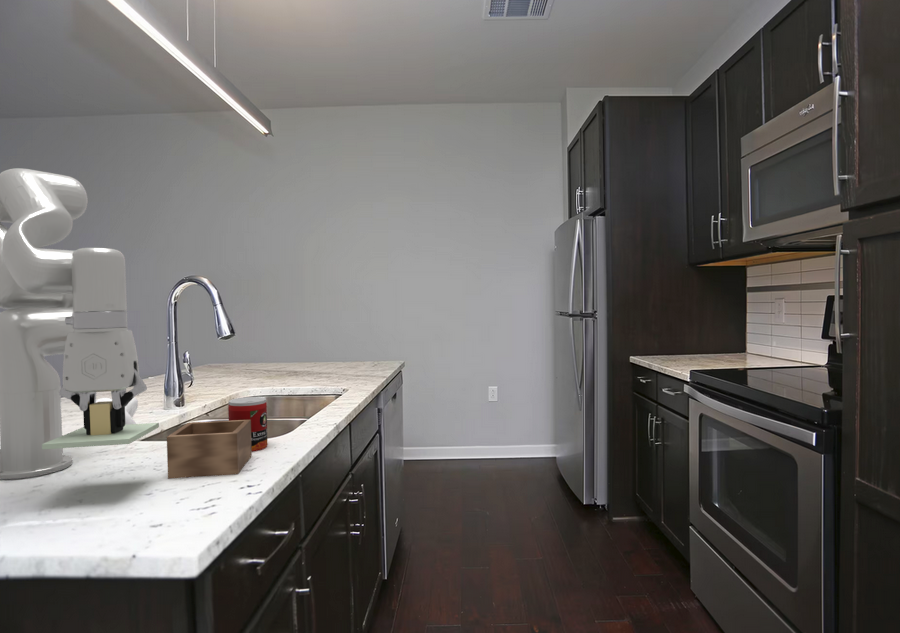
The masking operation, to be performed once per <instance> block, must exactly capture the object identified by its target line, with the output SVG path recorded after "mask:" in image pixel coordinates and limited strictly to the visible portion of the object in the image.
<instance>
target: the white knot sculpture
mask: <svg viewBox="0 0 900 633" xmlns="http://www.w3.org/2000/svg"><path fill="white" fill-rule="evenodd" d="M106 401H112V397H111V398H109V397H100V398H96V403H97V402H106ZM138 405H139V401H138V399H137V397H136V396H135V397H134V398H133V399H132V400H131V401H130V402H129V403H128V405H127V406H125V425H128V424H137V423H136V422H135V420H134V419H133V417H134V415H135V414H136V411H137V410H138V407H139V406H138Z"/></svg>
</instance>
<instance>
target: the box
mask: <svg viewBox="0 0 900 633" xmlns="http://www.w3.org/2000/svg"><path fill="white" fill-rule="evenodd" d="M166 454H167V455H166V456H167V458H166V459H167V461H166V462H167V479H168V480H169V479H185V478H186V479H187V478H198V477H199V478H201V477H217V476H231V475H232V476H233V475H239V474H240V472H241V471H242V470H243V468H244V467H245V466H246V464H247V463H248V462H249V460H250V459H251V458H252V457H253V456H252V454H253V452H252V450H251V420H232V421H229V420H217V421H216V420H215V421H196V422H195V421H194V422H192V421H191V422H188V423H186V424H184V425H183V426H181V427H179V428H178V429H177V430H175V431H173V432H172V433H170V434H169V435H168V436H166Z"/></svg>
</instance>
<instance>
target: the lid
mask: <svg viewBox="0 0 900 633" xmlns="http://www.w3.org/2000/svg"><path fill="white" fill-rule="evenodd" d="M112 409H113V402H112V401H106V402H97V403H94V404H91V405H90V430H91V435H87V434H86V429H85V428H84V426H83V427H81V428H78V429H76V430H74V431H71V432H68V433H66V434H64V435H63V434H62V436H61V437H58V438H56V439H54V440H51V441H49V442H46V443H44V444H42V449H58V448H63V449H69V448H71V449H72V448H85V447H102V446H118V445H130V444H132V443H134V442H135V441H137V440H139V439H140V438H142V437H144V436H146V435H148V434H150V433H151V432H153V431H155V430H156V429H158V428H160V423H159V422H149V423H136V424H128V425H125V426H124V427H123V430H122V431H119V432H117V433H113V434H112V433H111V424H110V411H111V410H112Z"/></svg>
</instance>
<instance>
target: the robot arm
mask: <svg viewBox="0 0 900 633" xmlns="http://www.w3.org/2000/svg"><path fill="white" fill-rule="evenodd" d="M88 201H89V200H88V194H87V191H86V189H85V187H84V186H83V184H82V183H81V182H80V181H79V180H78V179H76V178H74V177H72V176H69V175H64V174H58V173H52V172H48V171H41V170H36V169H29V168H21V167H20V168H19V167H16V168H10V169H9V168H8V169H6V170H3V171H1V172H0V309H3V311H0V480H17V479H26V478H34V477H38V476H39V477H40V476H42V475H48V474H52V473H55V472H58V471H62V470H64V469H65V470H66V469H67V468H68V467H69V468H70V466H72V464H73V462H74V461H73V457H72V456H71V455H66V454H63V452H64V451H63V449H64V448H58V449H42V444H44V443H46V442H49V441H51V440H54V439H56V438H58V437H61V436H63V421H62V418H63V417H62V397H63V398H66V399H67V400H71V402H72V403H74V404H75V405H76V406H77V407H79V410H80V411H81V412H83V415H82V416H83V427H84V428H85V429H86V434H87V435H91V430H90V405H91V404H94V403H96V400H97V393H102V392H103V393H104V392H110V395H111V399H112V402H113V409H112V410H111V411H110V424H111V433H112V434H113V433H117V432H119V431H122V430H123V427H124V426H125V406H127V405H128V403H129V402H130V401H131V400H132V399H133V398H134V397H135V398H136V396H138V395H140V394H142V393H144V392H146V391H147V389H148V387H147V385H146V383H145V382H144V380H143V378H142V377H141V376H140V367H139V358H138V350H137V346H136V341H135V338H134V333H133V331H132V329H128V303H127V281H126V280H127V279H126V278H127V277H126V275H127V274H126V259H125V255H124V254H123V253H122V252H121V251H120V250H118V249H116V248H115V249H114V248H108V247H107V248H106V247H81V248H78V249H76V250H70V249H69V250H68V249H57V248H56V249H55V248H54V249H53V248H45V247H48V246H52V245H55V244H57V243H60V242H62V241H63V240H64V239H65V238H67V237H68V236H69V235H70V234H71V232H72V229H73V225H74V222H73V221H74V220H77V219H78V218H80V217H82V216H83V215H84V214H85V212H86V211H87V207H88ZM3 223H10V224H11V225H10V226H9V228H8V227H7V226H5V225H4V224H3ZM56 355H63V363H62V385H61V378H60V375H59V373H58V371H57V370H56V369H55V368H54V367H53V365H52V364H51V363H50V362H48V361H47V360H46V359H45V357H48V356H49V357H50V356H56ZM128 388H132V389H130V390H128V391H127V389H128Z"/></svg>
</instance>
